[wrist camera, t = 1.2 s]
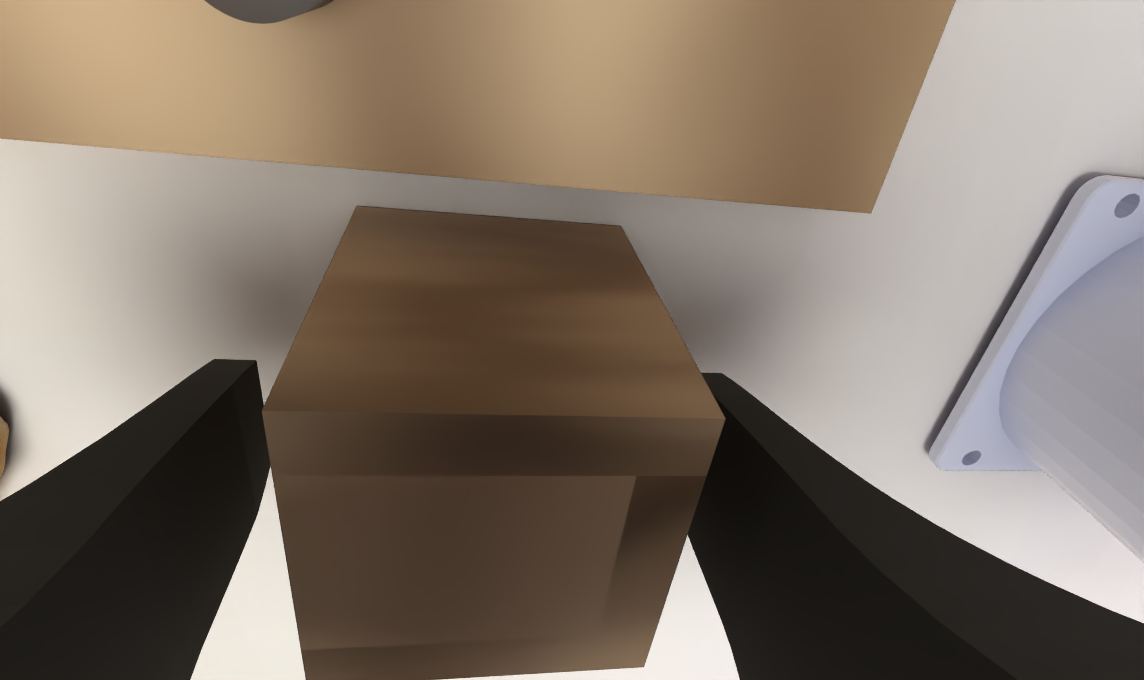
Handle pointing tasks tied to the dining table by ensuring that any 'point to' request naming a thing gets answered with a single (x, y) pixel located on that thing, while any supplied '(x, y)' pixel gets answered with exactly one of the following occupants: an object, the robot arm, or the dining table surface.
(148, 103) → the board
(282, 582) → the dining table surface
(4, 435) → the pastry
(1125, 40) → the dining table surface
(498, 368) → the brown block
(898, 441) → the dining table surface
